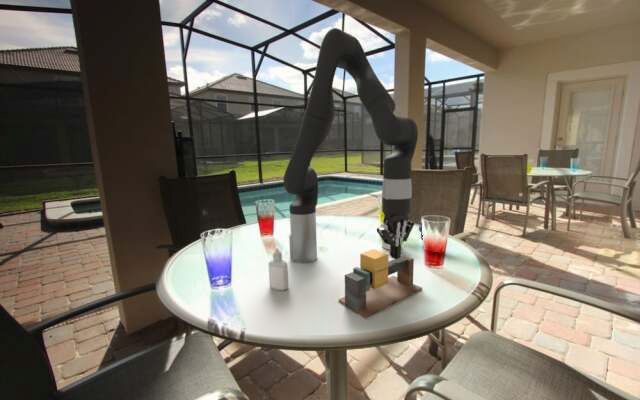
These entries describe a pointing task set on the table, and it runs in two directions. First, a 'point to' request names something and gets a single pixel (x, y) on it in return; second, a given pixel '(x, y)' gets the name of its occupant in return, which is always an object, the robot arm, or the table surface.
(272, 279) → the eye dropper bottle
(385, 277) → the yellow slider block
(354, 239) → the table surface
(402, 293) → the wooden slider rail stand
